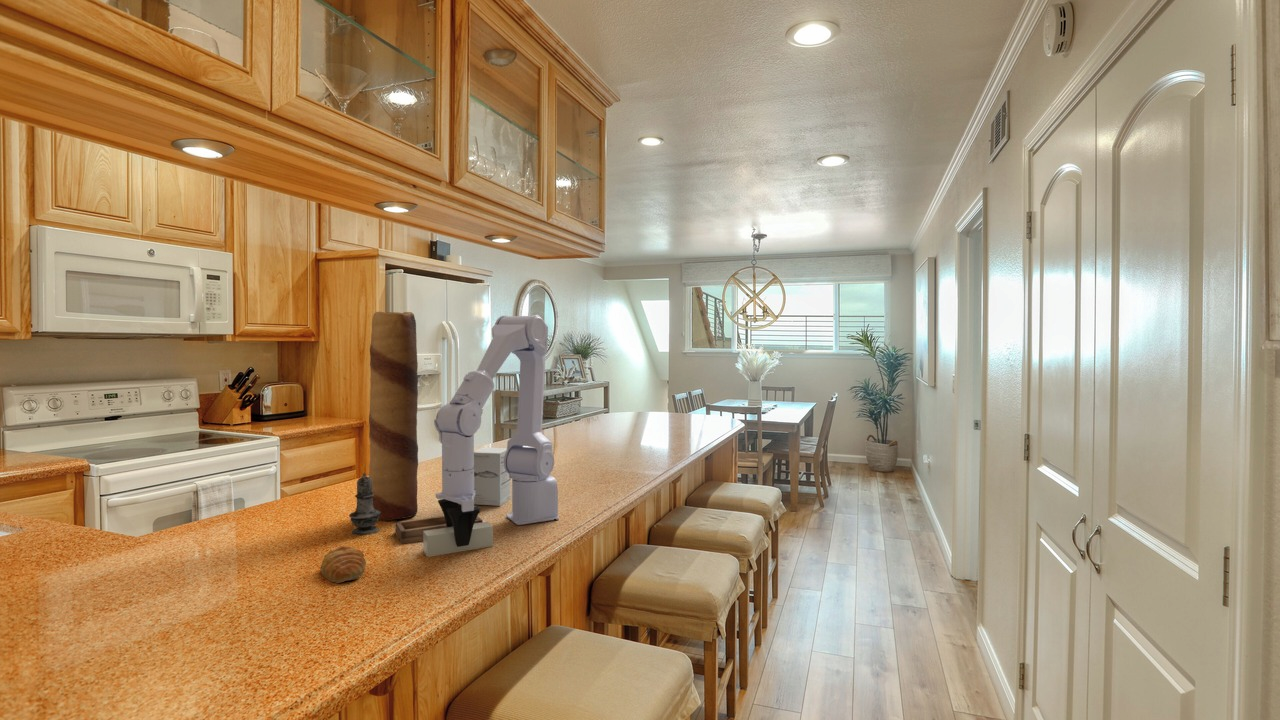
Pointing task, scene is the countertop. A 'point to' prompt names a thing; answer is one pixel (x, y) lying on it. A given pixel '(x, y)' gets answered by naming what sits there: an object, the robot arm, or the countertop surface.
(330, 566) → the pastry
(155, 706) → the countertop surface
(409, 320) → the wafer roll
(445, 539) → the grey rectangular block
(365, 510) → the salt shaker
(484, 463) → the supplement box
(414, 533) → the tray
